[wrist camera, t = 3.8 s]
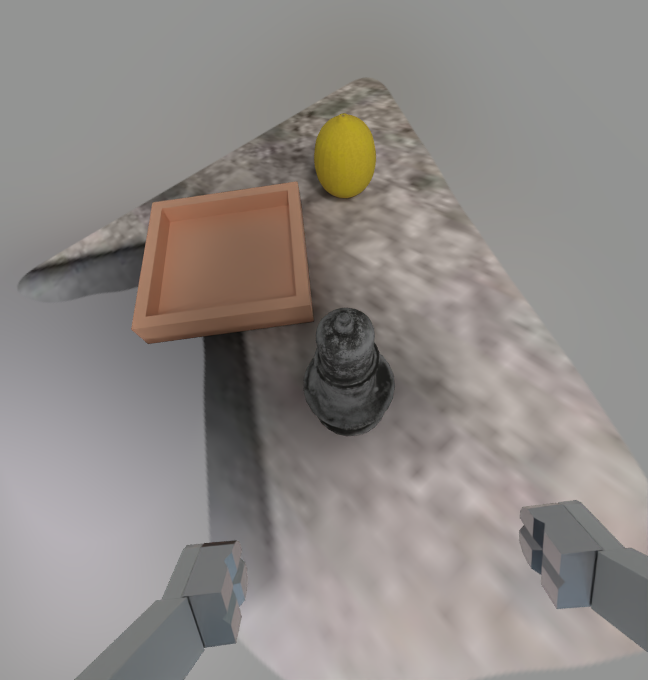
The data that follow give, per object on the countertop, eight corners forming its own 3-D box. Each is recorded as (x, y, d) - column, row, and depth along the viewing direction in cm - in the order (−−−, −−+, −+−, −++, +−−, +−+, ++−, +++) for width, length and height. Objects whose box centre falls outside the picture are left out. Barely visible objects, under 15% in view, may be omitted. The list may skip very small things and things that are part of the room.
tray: (148, 343, 30) (131, 329, 28) (165, 222, 36) (152, 202, 34) (313, 321, 29) (310, 304, 27) (301, 202, 36) (297, 181, 34)
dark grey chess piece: (294, 395, 27) (251, 310, 16) (353, 348, 28) (350, 241, 17) (345, 458, 24) (334, 407, 14) (407, 404, 26) (442, 318, 15)
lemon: (309, 190, 37) (297, 111, 30) (355, 170, 37) (355, 87, 30) (335, 224, 34) (329, 146, 27) (385, 201, 35) (391, 119, 28)
